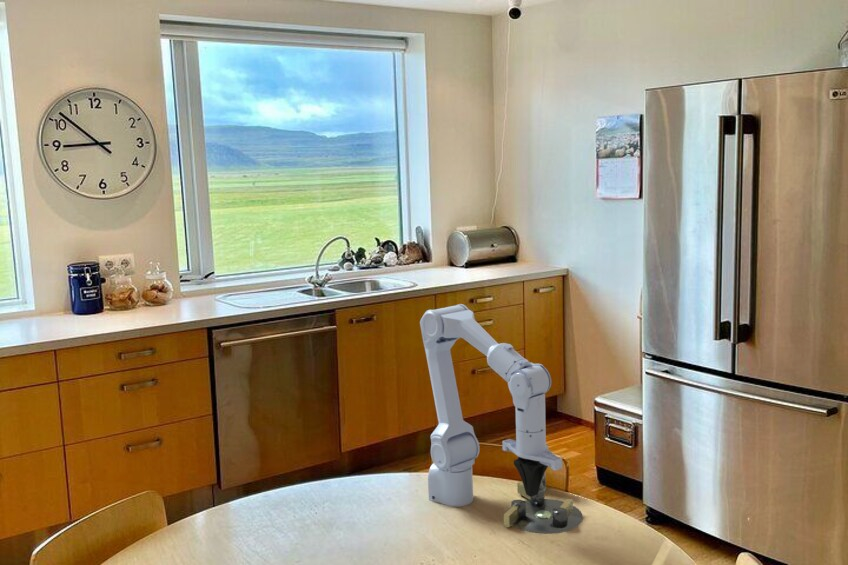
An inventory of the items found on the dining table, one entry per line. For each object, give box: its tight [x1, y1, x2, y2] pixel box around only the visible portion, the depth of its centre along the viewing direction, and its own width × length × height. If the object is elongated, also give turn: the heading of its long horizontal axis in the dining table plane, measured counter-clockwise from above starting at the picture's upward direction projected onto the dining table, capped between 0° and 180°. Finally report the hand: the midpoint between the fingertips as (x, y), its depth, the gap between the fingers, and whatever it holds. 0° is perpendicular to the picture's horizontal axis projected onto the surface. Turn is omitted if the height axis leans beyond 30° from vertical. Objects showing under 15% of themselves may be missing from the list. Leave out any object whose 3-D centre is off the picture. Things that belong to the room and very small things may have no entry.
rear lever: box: [516, 480, 546, 507], centre depth 166 cm, size 8×3×3 cm, turn 30°
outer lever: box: [552, 498, 574, 527], centre depth 156 cm, size 8×3×3 cm, turn 150°
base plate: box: [504, 498, 584, 535], centre depth 159 cm, size 16×16×2 cm
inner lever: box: [503, 499, 526, 528], centre depth 156 cm, size 8×3×3 cm, turn 150°
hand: (532, 494), depth 149 cm, fingers closed
